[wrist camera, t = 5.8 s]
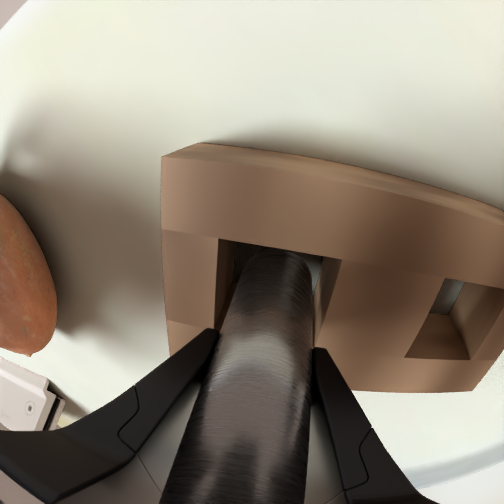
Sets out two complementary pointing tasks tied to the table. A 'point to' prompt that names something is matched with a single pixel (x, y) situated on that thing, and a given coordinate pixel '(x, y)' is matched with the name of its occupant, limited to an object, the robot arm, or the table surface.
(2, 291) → the ceramic jug
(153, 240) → the table surface
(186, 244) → the hole block
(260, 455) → the peg
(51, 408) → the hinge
